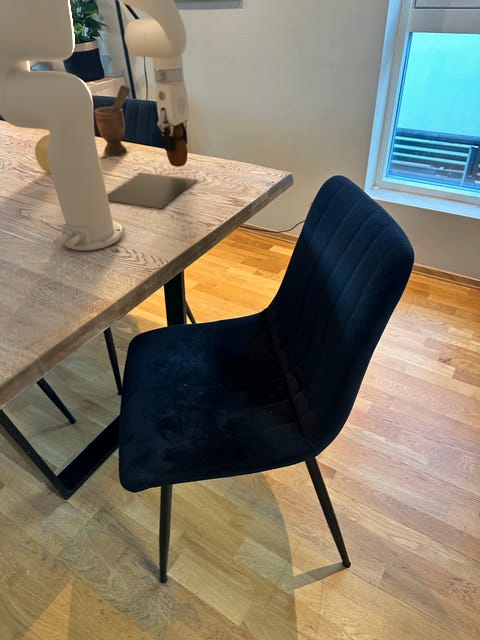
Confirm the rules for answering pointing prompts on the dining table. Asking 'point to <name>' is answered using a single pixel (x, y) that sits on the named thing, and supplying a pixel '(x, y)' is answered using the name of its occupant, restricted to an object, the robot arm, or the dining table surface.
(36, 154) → the sculpture
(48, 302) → the dining table surface
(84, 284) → the dining table surface
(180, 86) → the robot arm
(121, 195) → the mat
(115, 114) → the mortar and pestle
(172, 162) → the wooden figurine
